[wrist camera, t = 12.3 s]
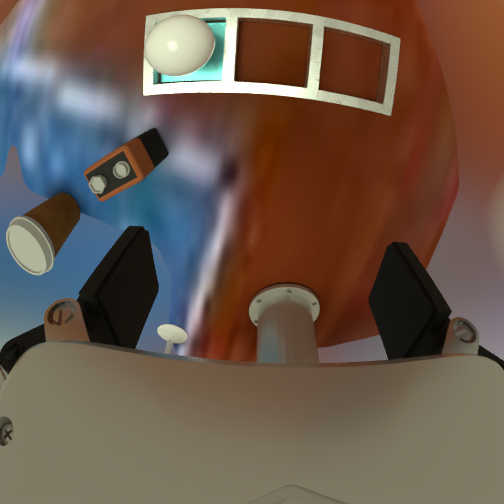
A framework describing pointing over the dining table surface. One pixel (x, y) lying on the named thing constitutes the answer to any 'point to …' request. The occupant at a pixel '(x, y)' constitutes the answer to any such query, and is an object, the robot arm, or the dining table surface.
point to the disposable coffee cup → (42, 233)
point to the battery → (126, 165)
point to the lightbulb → (179, 45)
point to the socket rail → (225, 70)
